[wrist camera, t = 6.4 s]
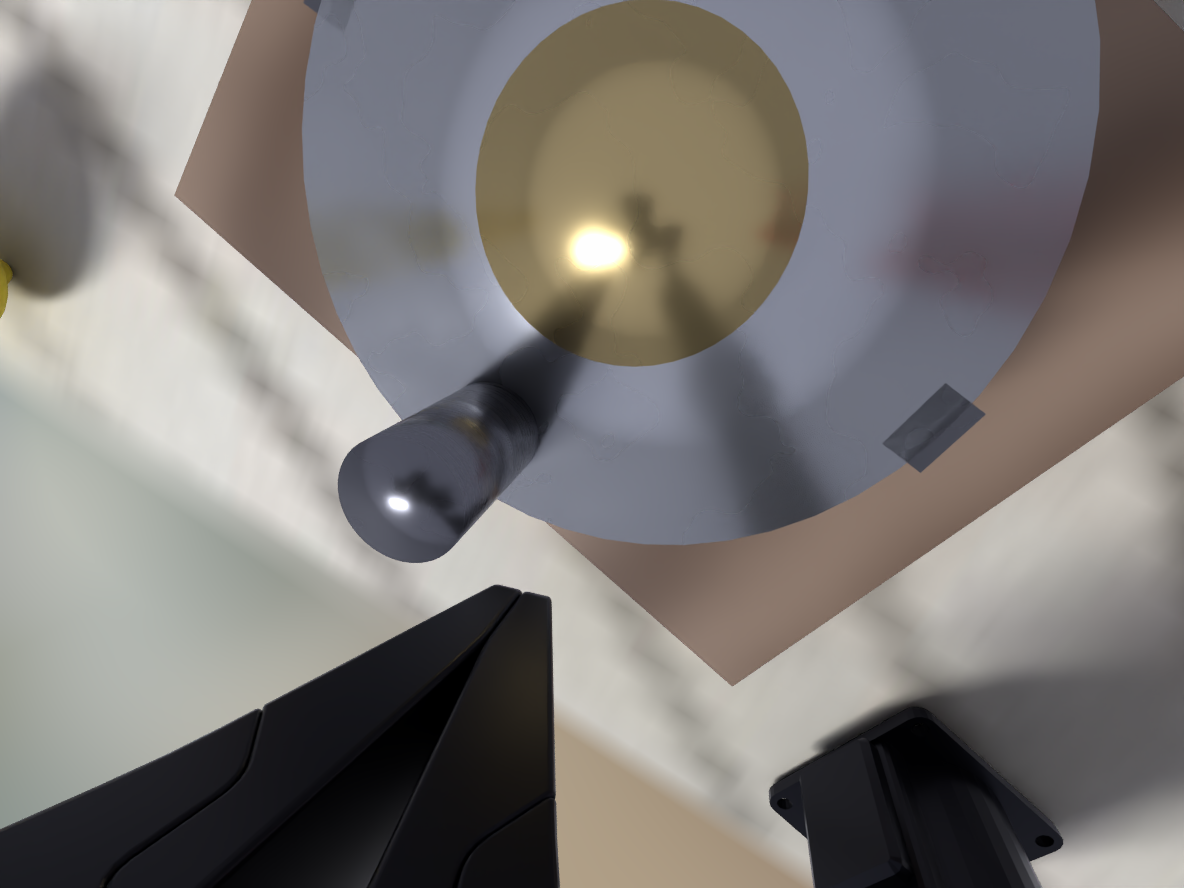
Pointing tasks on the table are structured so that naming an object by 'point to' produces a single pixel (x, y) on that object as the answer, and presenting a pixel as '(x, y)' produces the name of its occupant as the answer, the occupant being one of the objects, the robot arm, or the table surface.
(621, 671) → the table surface
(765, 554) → the base plate
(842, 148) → the notched round platform
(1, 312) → the lemon
